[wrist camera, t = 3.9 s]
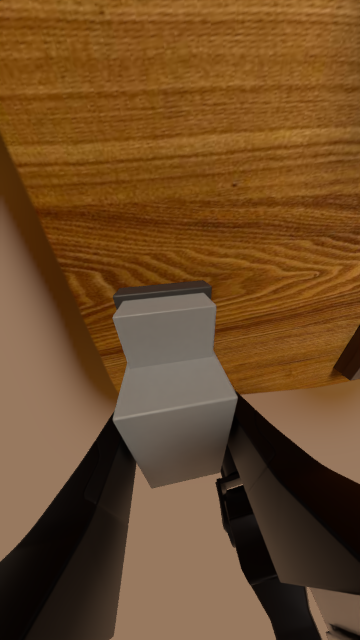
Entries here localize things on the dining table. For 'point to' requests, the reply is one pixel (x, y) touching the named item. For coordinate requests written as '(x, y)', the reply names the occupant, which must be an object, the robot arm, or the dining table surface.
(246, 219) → the dining table surface
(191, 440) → the grey stepped block
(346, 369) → the brown angle bracket
